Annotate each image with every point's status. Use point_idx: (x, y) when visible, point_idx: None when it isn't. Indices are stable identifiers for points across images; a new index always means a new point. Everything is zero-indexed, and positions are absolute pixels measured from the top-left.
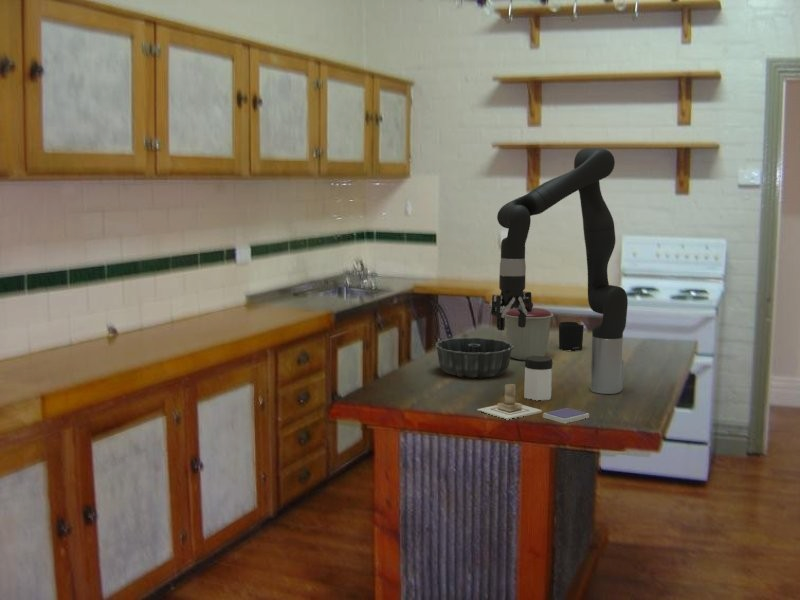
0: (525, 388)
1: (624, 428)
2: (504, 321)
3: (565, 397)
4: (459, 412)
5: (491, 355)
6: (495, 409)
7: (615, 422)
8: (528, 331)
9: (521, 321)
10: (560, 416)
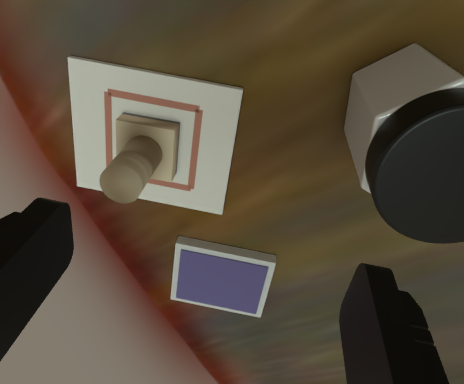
0: (357, 90)
1: (237, 374)
2: (18, 331)
3: None
4: (10, 14)
5: None
6: (117, 106)
7: (267, 353)
8: None
9: (355, 344)
10: (178, 287)
